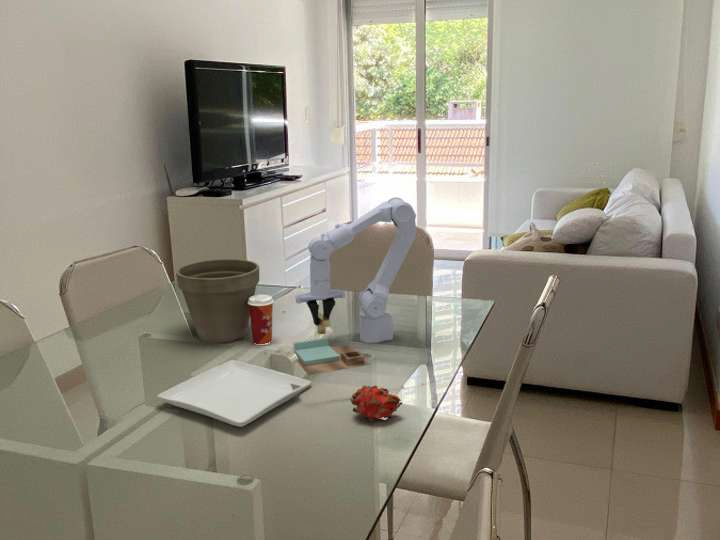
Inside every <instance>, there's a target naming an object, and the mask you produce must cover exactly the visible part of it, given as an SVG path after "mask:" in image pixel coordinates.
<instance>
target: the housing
mask: <svg viewBox="0 0 720 540" xmlns="http://www.w3.org/2000/svg"><path fill="white" fill-rule="evenodd" d="M330 347H331V348H332V349H333V350H334V351H335V352H336V353H337V354H338V355H339V356H340V360H336V361H330V362H324V363H318V364H311V365H304V364H303V363H302V362H301V360H300V359H299V358H298V360H297V361H296V362H297V363H298V364H299V366H300V367H301V368H302V369H303V370H304V371H305V372H306V374H307V375H308V376H310V375H316V374H321V373H322V374H323V373H329V372H334V371H341V370H346V369H352V368H358V367H364V366H369V365H370V366H371V365H372V363H371V362H370V361H369V360H367V359H366V358H365V356H364V355H363V354H362V352H360V351H359V350H358V349H355V348H354V346H352V345H351V344H345V345H337V346H333V347H332V346H330Z"/></svg>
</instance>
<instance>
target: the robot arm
mask: <svg viewBox="0 0 720 540" xmlns="http://www.w3.org/2000/svg"><path fill="white" fill-rule="evenodd" d="M416 218H417V214H416V212H415V209H414V208H413V206H412V205H411V204H410V203H408V202H406V201H404V200H403V199H402V198H400V197H392V198H389V199H388V200H387V201H386V200H385V201H383V202H381V203H380V204H378V205H377V206H375V207H374V208H372V209H371V210H369V211H368V212H366V213H364V214H363V215H362V216H360V217H359V218H358V217H357V219H355V220H353V222H350V223H349V224H348V223H345V222H342V223H339V222H338V223H336V224H335V225H334V228H331V230H328V231H327V232H322V233H320V236H315V237H313V238H312V239H310V241H309V244H308V246H307V249H308V252H309V253H310V259H309V260H310V263H309V272H310V273H309V277H310V278H309V279H310V282H309V283H310V292H306V293H303V294H297V295H295V303H296V304H298V305H300V304H302V303H306V305H307V307H308V308H309V311H310V313H311V316H312V321H313V324H314V325H315V326H317V325H318V323H319V322H318V313H319V309H320V304H319V303H318V301H322V309H323V313H322V315H324V316H325V317H326V318H328V319H329V320H330V317H331V313H332V311H333V309H334V307H335V305H336V300H335V299H346V292H345V290H343V289H341V290H339V289H337V290H336V289H335V290H331V263H330V257H331V255H332V253H333V252H335V251H337V250H339V249H340V248H342V247H344V246H346V245H347V244H349V243H351V242H353V241H354V238H355V236H356V234H358V233H361V232H362V231H364V230H366V229H368V228H369V227H372V226H374V225H376V224H378V223H379V222H382V223H383V222H384V223H393V226H394V228H395V232H396V235H395V236H394V239H393V240H392V243H391V245H390V246H389V248H388V251H387V253H386V255H385V257H384V259H383V261H382V263H381V266H380V267H379V269H378V271H377V273H376V275H375V276H374V279H373V281H371V282H370V283H368V286H367V287H366V289H364V290H363V291H362V292H361V293H360V295H359V297H358V302H359V305H360V306H361V307H362V308H361V311H360V313H359V323H360V324H359V332H360V333H359V335H360V337H359V338H360V339H359V340H360V341H361V342H364V343H366V344H367V343H368V344H377V343H378V344H379V343H381V342H386V341H393V340H394V322H393V321H394V320H393V316H392V315H391V313H389V312H386V310H387V302H388V300H389V294H390V292H389V291H390V289H391V286H392V285H393V282H394V280H395V278H396V276H397V275H398V272H399V270H400V268H401V267H402V264H403V263H404V260H405V259H406V257H407V254H408V252H409V250H410V248H411V246H412V244H413V242H414V240H415V239H416V236H417V229H416V227H417V226H416Z"/></svg>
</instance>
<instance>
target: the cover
mask: <svg viewBox="0 0 720 540" xmlns="http://www.w3.org/2000/svg"><path fill="white" fill-rule="evenodd" d="M329 344H330V343H329V337H327V336H326V337H321V338H320V337H319V338H315V339H314V338H313V339H306V340H300V341H294V342H293V353H295V354H296V355H297V357H298V358H299V359H300V360H301V362H302V363H303V364H304V365H311V364H318V363H324V362H330V361H336V360H340V356H339V355H338V354H337V353H336V352H335V351H334V350H333V349H332V348H331V347H332V346H330V345H329Z"/></svg>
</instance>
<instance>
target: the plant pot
mask: <svg viewBox="0 0 720 540" xmlns="http://www.w3.org/2000/svg"><path fill="white" fill-rule="evenodd" d="M175 275H176V282H177V287H178V289H180V290H181V292H182V295H183V298H184V300H185V304H186V305H187V308H188V312H189V316H190V318H191V320H192V323H193V327H194V329H195V331H196V334H197V336H198V338H199V339H200V340H202V341H203V342H207V343H217V344H218V343H219V344H220V343H221V344H222V343H230V342H233V341H237V340H239V339H242V338H243V337H245V336H246V334H247V331H248V326H249V323H250V311H249V304H248V301H249V297H251V296H254V295H256V290H257V289H256V288H257V285H258V284H259V283H260V265H259V264H258V263H257V262H254V261H252V260H246V259H239V258H217V259H205V260H200V261H193V262H191V263H186V264H185V265H181V266H180V267H178V268H177V269H176V271H175Z"/></svg>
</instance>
